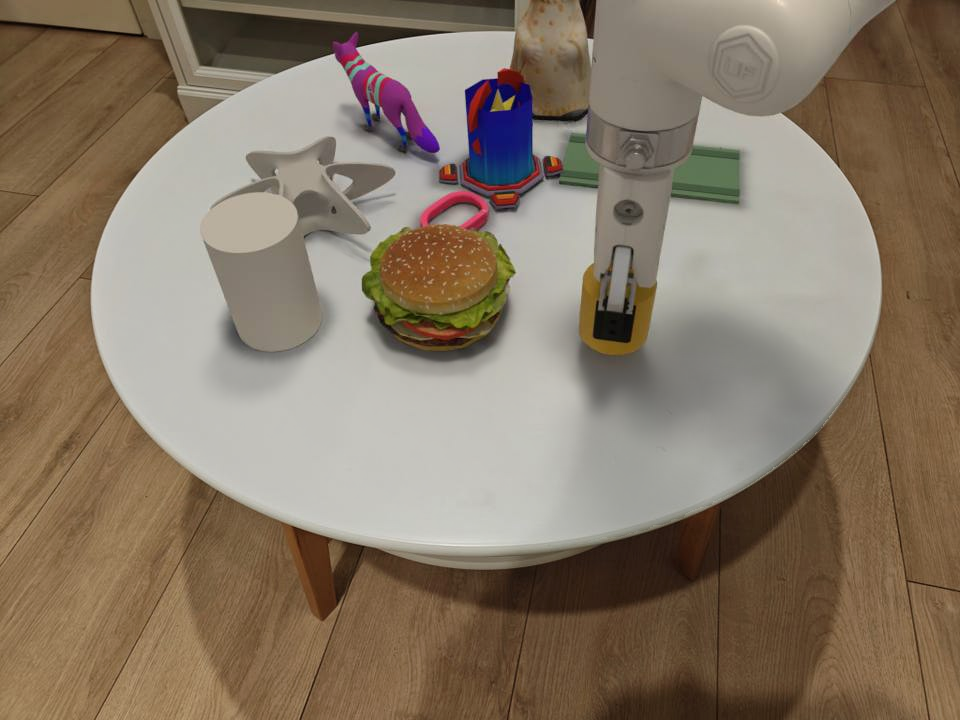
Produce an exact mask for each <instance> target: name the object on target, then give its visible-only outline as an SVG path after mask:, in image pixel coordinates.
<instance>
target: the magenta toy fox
mask: <svg viewBox="0 0 960 720" xmlns="http://www.w3.org/2000/svg"><path fill="white" fill-rule="evenodd" d="M358 41H359V33H358V31H355V33H354V32H353V34H352V36H351V37H350V38H349V40H348V41H346V42H343V43H340V42H338V41H333V42H332V46H333V50H334V57H335V58H334V59H335V60H336V62H338V63H339V64H340V65H341V67H342V68H343V71H344V72H345V74H346V76H347V78H348V80H349V82H350V84H351V89H352V91H353V93H354V96H355V98H356V99H357V101H358V102H359V104H360V106H361V109H362V111H363V113H364V116H365V119H366V124H365V125H363V130H364V131H367V132H370V131H372V130H373V124H372V119H373V120H377V121H379V120H380V119H381V110H382V112H383V115H384V116H385V118H386V119H387V121H388V122H389V123H390V124H391V125H392V126H393V127H394V128H395V129H396V131H397V133H398V134H399V136H400V139H401V142H402V144H399V145H397V148H396V149H397V150H398V151H399V152H405V151H407V150H408V139H407V138H411V139H412V141H413V142H414V144H416V145H417V147H418V148H420V149H421V150H422V151H424V152H426V153H428V154H436V153H438V152H440V149H441V147H440V143H439V141H438V139H437V137H436V136H435V135H434V133H433V132H432V131H431V129H430V128H429V127H428V126H427V125H426V123H425V122H424V120H423V119H422V117H421V114H420V112H419V111H418V108H417V107H416V105H415V103H414V101H413V99H412V95H411V93H410V90H409V89H408V88H407V87H406V86H405V85H404V84H402V83H401V82H400V81H399V80H396V79H393V78H391V77H389V76H388V75H387V74H384V73H382V72H380V71H378V70H377V68H375V67H374V66H373V65H372V64H370V63H368V62H367V61H366V60H365V59H364V58H363V57H362V55H361V54H360V52H359V51H358V50H357V46H358V43H359V42H358ZM370 103H371V104H373V105H374V108H375V113H373V114H371V106H370ZM402 115H403V116H404V120H405V121H404V122H405V126H406V129H407V131H406V130H405V129H404V126H403V123H402Z"/></svg>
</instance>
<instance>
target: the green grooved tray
mask: <svg viewBox="0 0 960 720" xmlns="http://www.w3.org/2000/svg"><path fill="white" fill-rule="evenodd" d="M568 140H569V141H568V144H567V147H566V152H565V156H564V159H563V162H562V165H563V169H564V172H562V173H559V179H558V184H562V185H571V186H581V187H588V188H589V187H590V188H597V189H598V182H599V171H600V164H599V163H598V162H596V161H595V160H594V159H593V158H592V157H591V156H590V155H589V153H588V151H587V149H586V133H577V132H571V134H570V136H569V139H568ZM740 153H741V152H740V150H739V149H731V148H723V147H722V148H721V147H714V146H713V147H712V146H702V145H694V144H693V147H692V152H691V155H690V157H689V158H688V159H687V160H686V162H685V163H683V164H682V165H681V166H679V167H677V168H675V169H674V175H673V183H672V190H671V197H675V198H686V199H693V200H703V201H712V202H721V203H728V204H740V196H741V195H740V193H741V192H740V191H741V189H740V159H741V158H740V156H741V154H740Z"/></svg>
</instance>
